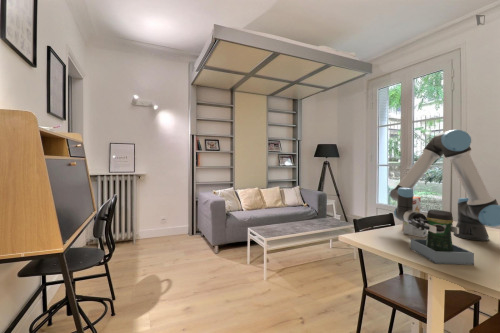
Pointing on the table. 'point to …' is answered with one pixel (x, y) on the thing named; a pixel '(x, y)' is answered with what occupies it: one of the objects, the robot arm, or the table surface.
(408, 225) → the light bulb box
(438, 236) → the coffee jar
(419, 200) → the cracker box
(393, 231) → the table surface
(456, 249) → the tray
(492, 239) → the table surface
